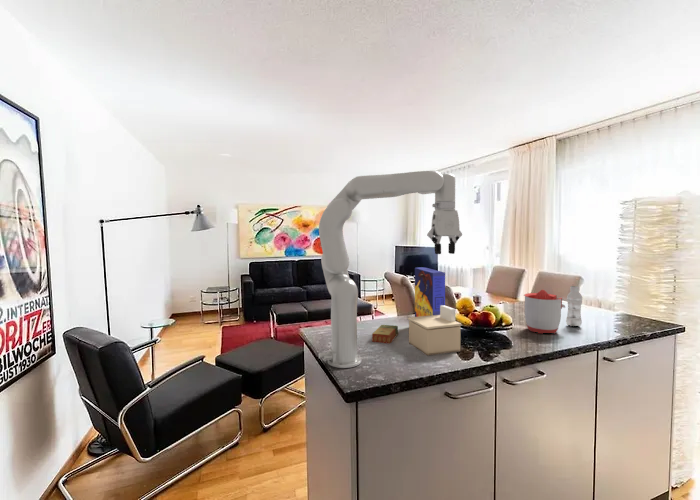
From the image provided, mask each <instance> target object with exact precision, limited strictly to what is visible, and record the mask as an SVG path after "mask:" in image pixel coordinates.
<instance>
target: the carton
mask: <svg viewBox="0 0 700 500" xmlns="http://www.w3.org/2000/svg"><path fill="white" fill-rule="evenodd" d="M398 335H399V327H398V325H391V324H381V325H380V326H378V328H377V329H375V331H374V332H372V333H371V339H372V340H371V341H372V343H379V344H388V345H390V344H391V343H392V342H393V341H394V339H395V338H396V337H397V336H398Z"/></svg>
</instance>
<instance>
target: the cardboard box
mask: <svg viewBox="0 0 700 500" xmlns="http://www.w3.org/2000/svg"><path fill="white" fill-rule="evenodd" d="M408 344H409V345H410V346H411V347H413V348H414V349H416V350H418V351H419V352H421V353H422V354H423V355H425V356H435V355H442V354H443V355H444V354H450V353H452V354H453V353H457V352H458V353H459V352H461V326H453V327H444V328H434V329H425V328H423V327H422V326H420V325H418V324H416V323H414V322H412V321H410V320H408Z"/></svg>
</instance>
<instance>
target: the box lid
mask: <svg viewBox="0 0 700 500" xmlns="http://www.w3.org/2000/svg"><path fill="white" fill-rule="evenodd" d="M407 320H408V321H412V322H414V323H416V324H418V325H420V326H422V327H423V328H425V329H434V328H444V327H453V326H460V327H461V326H462V325H463V324H462V323H461V322H458V321H456V308H453V307H450V306H448V305H446V304H445V305H441V306H440V315H431V316H420V317H415V316H411V317H407Z"/></svg>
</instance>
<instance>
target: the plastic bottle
mask: <svg viewBox="0 0 700 500" xmlns="http://www.w3.org/2000/svg"><path fill="white" fill-rule="evenodd" d="M566 301H567V316H566V319H565V322H566V325H567V326H568V325H570V326H569V327H571V326H580V327H581V326H582V323H583V322H582V314H581V311H582V303H583V296H582V294H581V293H580V287H579V286H574V285H571V286H570V287H569V292H568V294H567V296H566Z"/></svg>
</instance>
